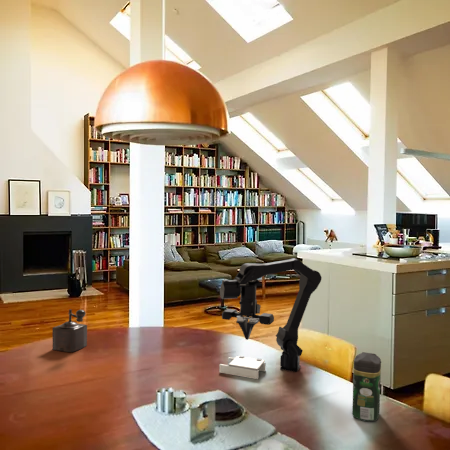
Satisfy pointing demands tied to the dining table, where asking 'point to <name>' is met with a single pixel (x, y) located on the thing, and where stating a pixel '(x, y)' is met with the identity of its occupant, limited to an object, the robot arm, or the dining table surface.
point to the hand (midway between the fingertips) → (247, 339)
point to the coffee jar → (366, 386)
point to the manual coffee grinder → (70, 334)
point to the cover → (247, 362)
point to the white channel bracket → (240, 370)
